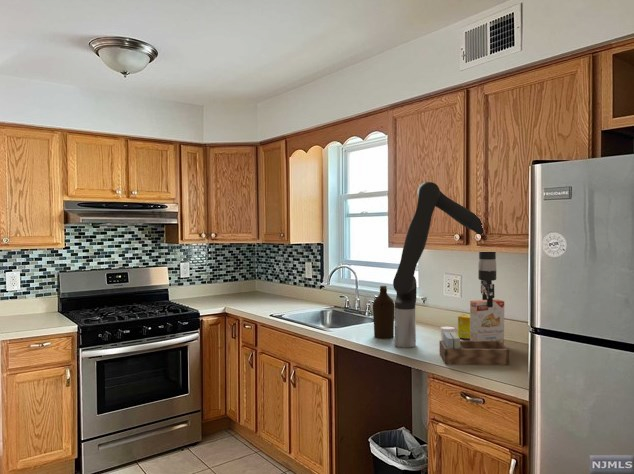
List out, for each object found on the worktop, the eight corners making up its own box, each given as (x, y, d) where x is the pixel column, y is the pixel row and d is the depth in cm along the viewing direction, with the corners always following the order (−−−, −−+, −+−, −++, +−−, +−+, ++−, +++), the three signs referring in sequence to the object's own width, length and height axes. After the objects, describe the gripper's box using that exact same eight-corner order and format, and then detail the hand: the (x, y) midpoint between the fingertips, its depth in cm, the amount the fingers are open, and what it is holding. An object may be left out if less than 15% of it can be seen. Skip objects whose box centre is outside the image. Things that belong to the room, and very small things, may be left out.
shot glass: (452, 340, 233) (452, 325, 233) (457, 344, 226) (457, 329, 226) (438, 340, 233) (438, 326, 232) (442, 344, 226) (442, 329, 226)
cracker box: (477, 350, 215) (476, 302, 215) (469, 346, 221) (469, 300, 221) (505, 347, 219) (504, 300, 218) (496, 344, 225) (496, 298, 224)
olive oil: (398, 338, 239) (397, 286, 238) (377, 339, 236) (377, 287, 236) (389, 333, 249) (389, 284, 248) (370, 335, 247) (369, 285, 246)
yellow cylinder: (462, 336, 241) (462, 314, 240) (474, 338, 237) (474, 315, 236) (457, 338, 236) (457, 316, 236) (469, 340, 232) (469, 317, 232)
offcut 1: (447, 363, 197) (447, 338, 196) (443, 355, 207) (443, 332, 207) (453, 363, 196) (453, 338, 196) (448, 355, 207) (448, 332, 207)
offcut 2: (454, 363, 196) (454, 338, 196) (449, 355, 207) (449, 332, 207) (460, 363, 196) (460, 338, 196) (455, 355, 207) (454, 332, 207)
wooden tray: (445, 364, 195) (445, 349, 195) (439, 354, 209) (439, 340, 209) (509, 364, 193) (508, 349, 193) (499, 355, 207) (499, 340, 207)
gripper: (475, 267, 226) (475, 302, 227) (482, 270, 212) (482, 308, 213) (491, 267, 225) (491, 302, 226) (500, 270, 211) (500, 308, 212)
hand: (487, 305), depth 219 cm, fingers open, 8 cm apart
